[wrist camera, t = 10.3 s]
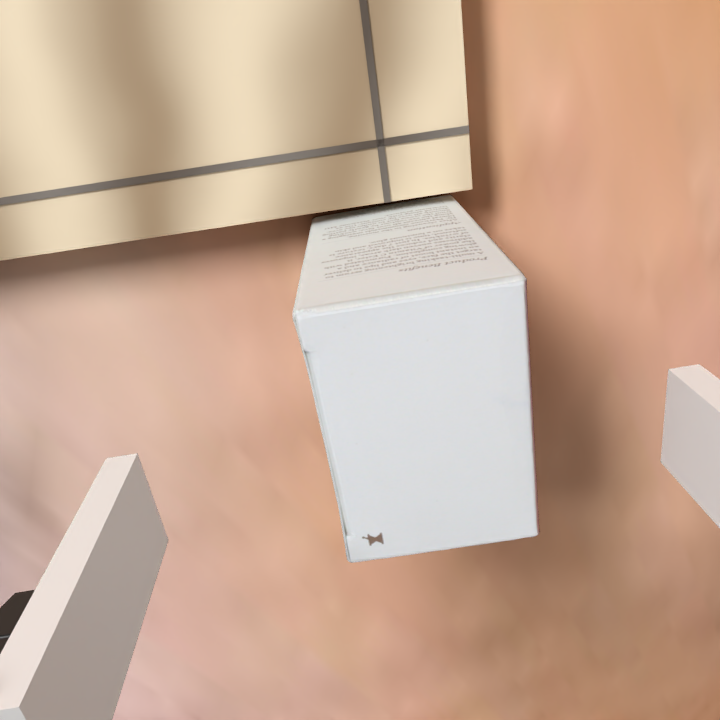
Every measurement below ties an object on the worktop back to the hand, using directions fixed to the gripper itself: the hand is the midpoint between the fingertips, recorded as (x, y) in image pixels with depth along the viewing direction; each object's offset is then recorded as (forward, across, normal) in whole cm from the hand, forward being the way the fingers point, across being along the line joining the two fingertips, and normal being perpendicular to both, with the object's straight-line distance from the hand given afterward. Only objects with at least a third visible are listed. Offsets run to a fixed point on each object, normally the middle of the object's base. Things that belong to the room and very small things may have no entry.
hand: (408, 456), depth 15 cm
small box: (+11, +1, 0) cm, 11 cm away
